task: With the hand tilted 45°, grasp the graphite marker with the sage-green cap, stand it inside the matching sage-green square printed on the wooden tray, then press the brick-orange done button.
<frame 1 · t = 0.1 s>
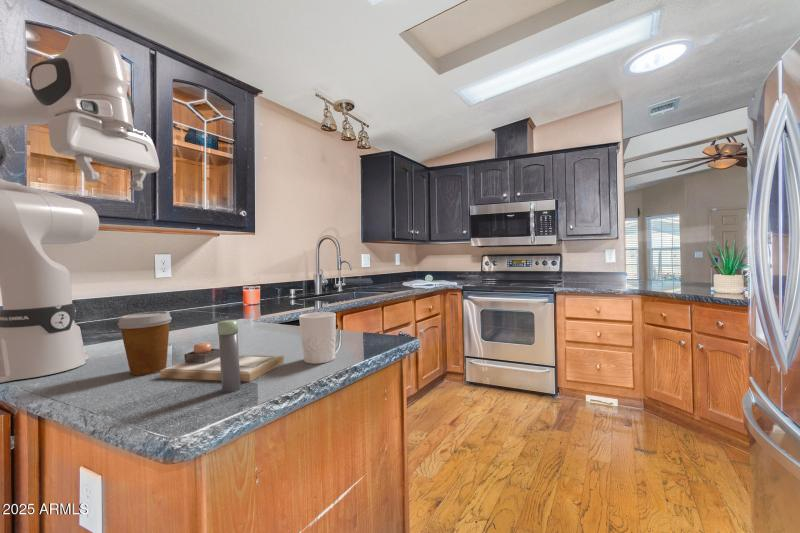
hand: (116, 186, 76), 39 cm above the countertop, tool pointing down, fingers open, 8 cm apart
marker: (231, 389, 66), on the countertop
done button: (202, 349, 79), point 4 cm above the countertop, slide at 0.0 cm
disposable coffee cup: (148, 371, 79), on the countertop
white cup: (319, 360, 82), on the countertop
wooden tray: (225, 370, 77), on the countertop
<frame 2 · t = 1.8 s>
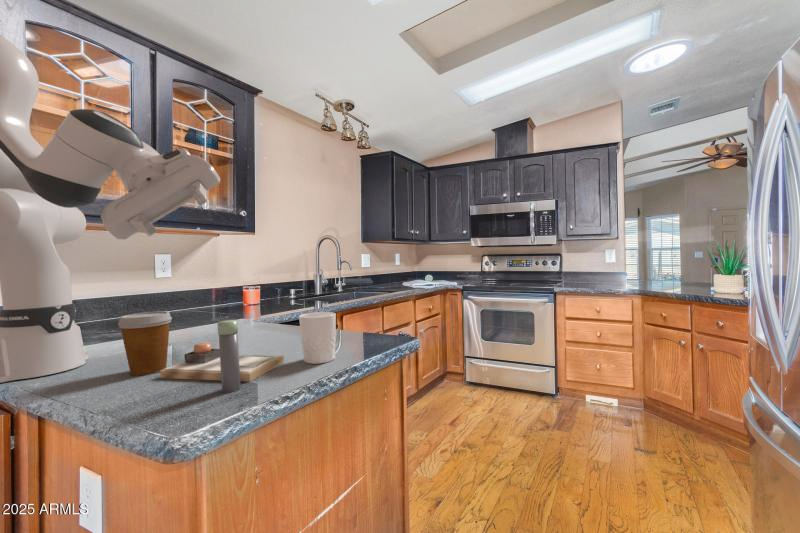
hand: (176, 215, 64), 31 cm above the countertop, tool tilted 60°, fingers open, 8 cm apart
nothing on the countertop moved.
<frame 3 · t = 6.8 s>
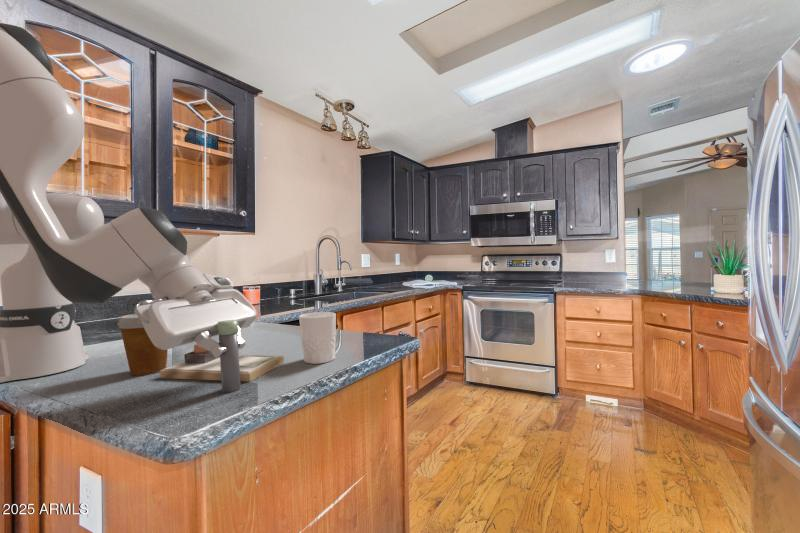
hand: (232, 350, 65), 7 cm above the countertop, tool tilted 45°, fingers closed on marker, 3 cm apart
marker: (231, 389, 66), on the countertop, touching gripper
everything else where it was.
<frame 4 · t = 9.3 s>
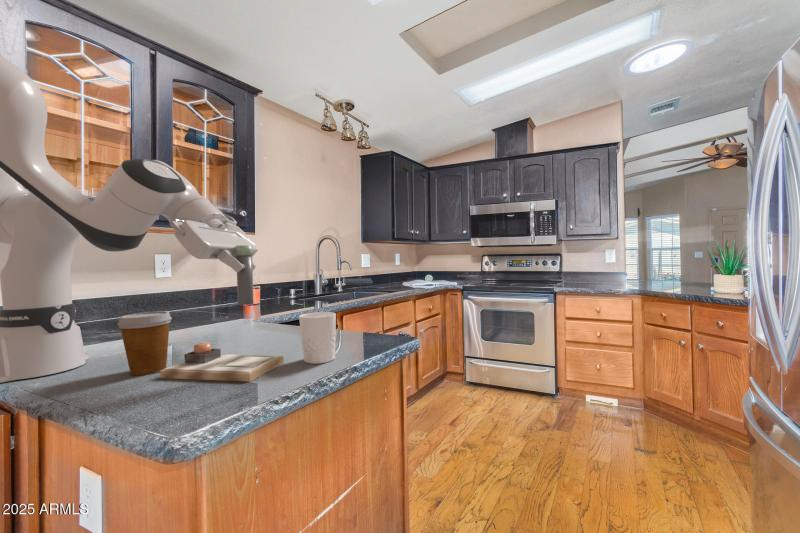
hand: (247, 269, 77), 21 cm above the countertop, tool tilted 45°, fingers closed on marker, 3 cm apart
marker: (245, 304, 77), point 14 cm above the countertop, touching gripper
everything else where it was.
when the fingers open (10 cm above the countertop, at t = 11.8 s): marker drops 1 cm, resting on wooden tray.
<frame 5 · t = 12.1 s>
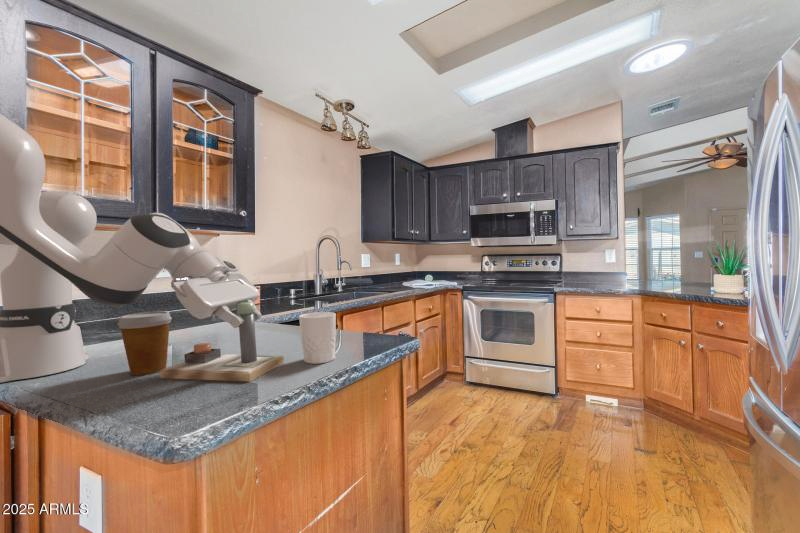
hand: (249, 321, 77), 10 cm above the countertop, tool tilted 45°, fingers open, 6 cm apart
marker: (249, 360, 77), point 2 cm above the countertop, touching wooden tray
everything else where it was.
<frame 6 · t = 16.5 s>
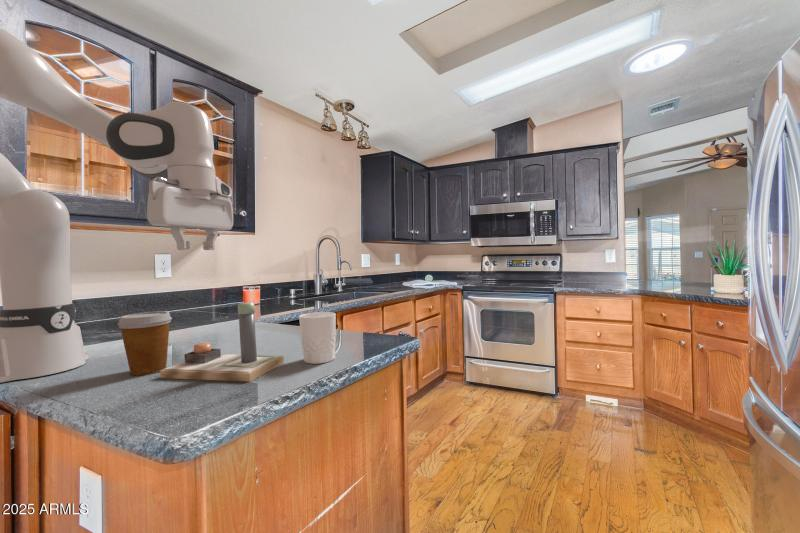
hand: (196, 250, 79), 25 cm above the countertop, tool pointing down, fingers open, 6 cm apart
nothing on the countertop moved.
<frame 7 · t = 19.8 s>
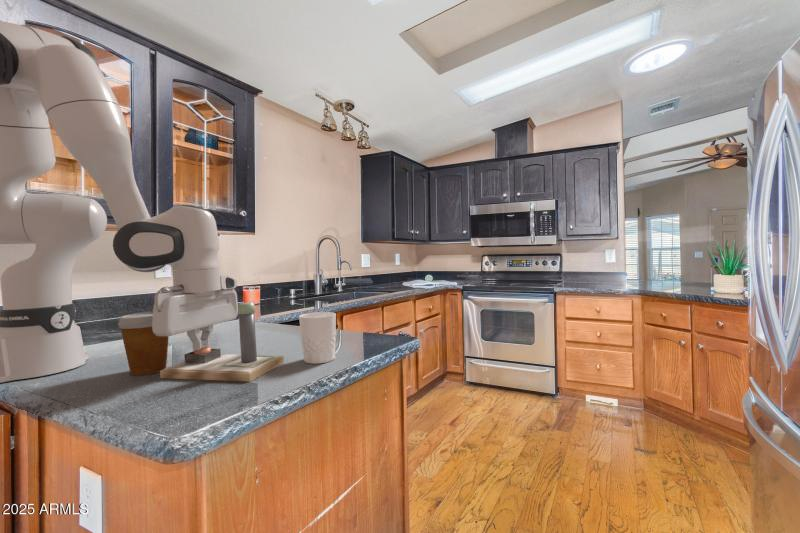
hand: (201, 348, 79), 4 cm above the countertop, tool pointing down, fingers closed, pressing on done button
done button: (202, 352, 79), point 3 cm above the countertop, slide at 0.8 cm, touching gripper
everything else where it was.
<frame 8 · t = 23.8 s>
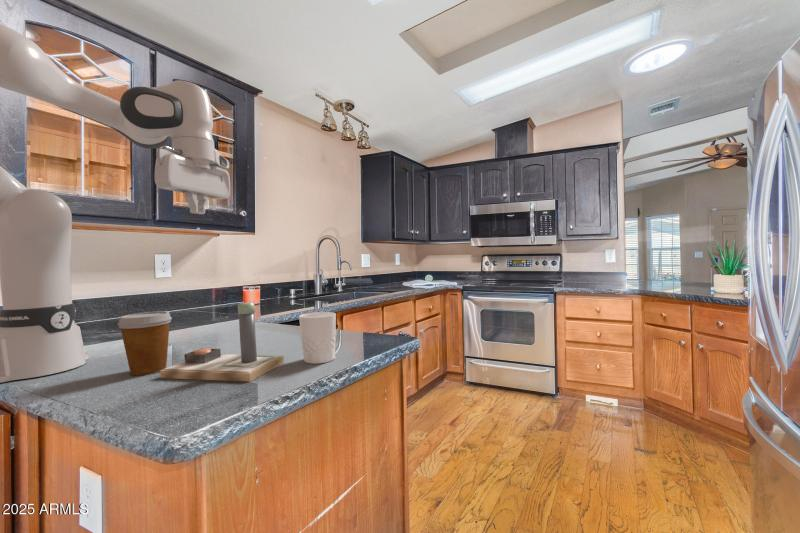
hand: (197, 213, 89), 34 cm above the countertop, tool pointing down, fingers closed
done button: (202, 355, 79), point 3 cm above the countertop, slide at 1.3 cm
everything else where it was.
at the end: marker 0.0 cm from the target spot, point 1.7 cm above the countertop; marker tilted 0°; done button slide at 1.3 cm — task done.
